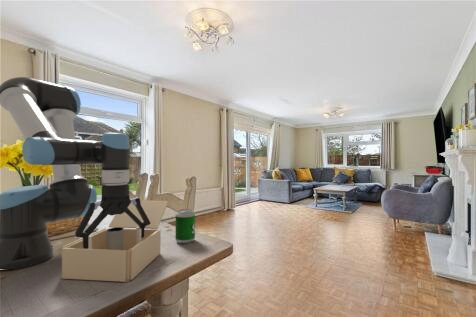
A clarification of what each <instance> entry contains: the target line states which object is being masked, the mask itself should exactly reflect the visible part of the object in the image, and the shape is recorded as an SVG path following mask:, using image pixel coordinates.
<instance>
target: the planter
mask: <svg viewBox="0 0 476 317" xmlns="http://www.w3.org/2000/svg"><path fill="white" fill-rule="evenodd" d="M109 228H110V229H108V230H107V250H124V229H125V228H122V227H115V228H111V227H109Z"/></svg>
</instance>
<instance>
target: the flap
mask: <svg viewBox="0 0 476 317" xmlns="http://www.w3.org/2000/svg"><path fill="white" fill-rule="evenodd" d="M140 203H141V206H142V208H143V210H144V212H145V213H146V215H147V217H148V219H149V221H150V225H147V226H146V227H145V228H144V230H159V227H160V224H161V222H162V219H163V216H164V214H165V210H166V208H167V206H168V203H169V201H168V200H147V199H146V200H144V199H142V200H141V199H140ZM128 209H129V210H130V211H131V212H132V213H133V214H134V215H135V216H136V217H137V218H138V219H139V220H140V221H141V222H144V221H143V219H142V217H141V216H140V214H139V212H138V210H137V208H136V207H135V205H133V204H132V203H130V205H129V206H128ZM115 227H122V228H124V229H136V227H139V225H138V224H137V223H136V222H135V221H133V220H132V219H131V218H130V217H129V216H128V215H127V214H126V213H125V212H124V213H122V214H115V215H113V218H112V220H110V223H109V224H108V228H115Z"/></svg>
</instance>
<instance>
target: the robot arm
mask: <svg viewBox="0 0 476 317" xmlns="http://www.w3.org/2000/svg"><path fill="white" fill-rule="evenodd" d="M81 105H82V103H81V98H80V95H79V93H78V92H77V91H76V89H74V88H72V87H69V86H67V85H63V84H57V83H52V82H49V81H44V80H40V79H36V78H32V77H26V76H18V77H17V76H16V77H13V78H12V77H11V78H9V79H6V80H5V81H4V82H2V83H1V84H0V106H1V107H2V108H3V109H4V110H6V111H7V112H8V113H10V115H11V117H12V119H13V120H14V123H16V125H17V127H18V128H19V130H20V132H21V134H22V135H23V137H24V138H25V139H24V141H23V143H22V147H21V153H22V156H23V157H22V158H23V161H24V162H25V163H26V164H28V165H31V166H34V165H35V166H36V165H37V166H51V167H52V168H51V169H52V176H53V180H52V181H51V183H50V184H49V187H48V186H47V185H46V184H35V185H27V186H21V187H16V188H15V187H14V188H11V189H8V190H4V191H3V192H1V193H0V269H13V270H17V269H22V268H23V269H24V268H26V267H30V266H34V265H37V264H40V263H42V262H45V261H48V260H49V259H50V258H52V257H53V256H54V245H53V244H52V242H51V239H50V236H49V234H48V224H50V223H54V222H59V221H65V220H71V219H78V218H80V217H82V220H81V221H80V223H79V225H78V227H77V229H76V231H75V233H74V234H75V237H77V238H83V248H84V249H92V237H91V235H90V234H92V233H94V232H95V230H96V229H97V227H98V226H99V225H100V223H102V222H103V221H104V219H105V218H107V216H115V214H122V213H124V212H125V213H126V214H127V215H128V216H129V217H130V218H131V219H132V220H133V221H135V222H136V223H137V224H138V225H139V227H136V228H135V229H136V245H137V244H138V243H140V242H141V238H143V237H144V230H145V229H144V228H145V227H146V226H147V225H150V221H149V219H148V217H147V215H146V213H145V212H144V210H143V208H142V206H141V203H140V200H141V198H140V197H138V196H134V197H133V198H130V185H129V182H130V154H131V152H130V151H131V150H130V148H131V146H130V136H129V135H128V134H126V133H121V132H104V133H103V134H102V135H101V139H100V140H86V139H85V140H84V139H83V140H81V139H76V133H75V129H74V128H75V127H74V122H73V121H74V120H75V119H76V118H77V116H78V115H79V114H80V111H81ZM81 165H101V184H102V186H101V200H100V201H97V199H98V194H97V193H98V192H97V189H96V187H95V186H94V185H93V184H89V183H88V178H85V177H84V176H83V174H82V170H81ZM130 203H132V204H133V205H135V207H136V208H137V210H138V212H139V214H140V216H141V217H142V219H143V221H144V222H141V221H140V220H139V219H138V218H137V217H136V216H135V215H134V214H133V213H132V212H131V211H130V210H129V209H128V206H129V205H130ZM98 207H100V208H101V209H102V210H101V212H99V214H98V215H97V216H96V218H95V219H94V220H93V221H92V222H91V223H90V225H89V226H88V227H87V225H88V224H89V222H90V220H91V218H92V216H93V214H94V212H95V210H98ZM86 227H87V228H86Z"/></svg>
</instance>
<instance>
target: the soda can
mask: <svg viewBox="0 0 476 317" xmlns="http://www.w3.org/2000/svg"><path fill="white" fill-rule="evenodd" d="M195 238H196V213H195V211H194V210H193V209H188V208H187V209H180V210H177V212H176V213H175V241H176V242H177V243H178V242H179V243H178V244H180V243H188V242H191V241H192V242H193V241H194V240H195ZM192 242H191V243H192ZM188 244H189V243H188Z"/></svg>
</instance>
